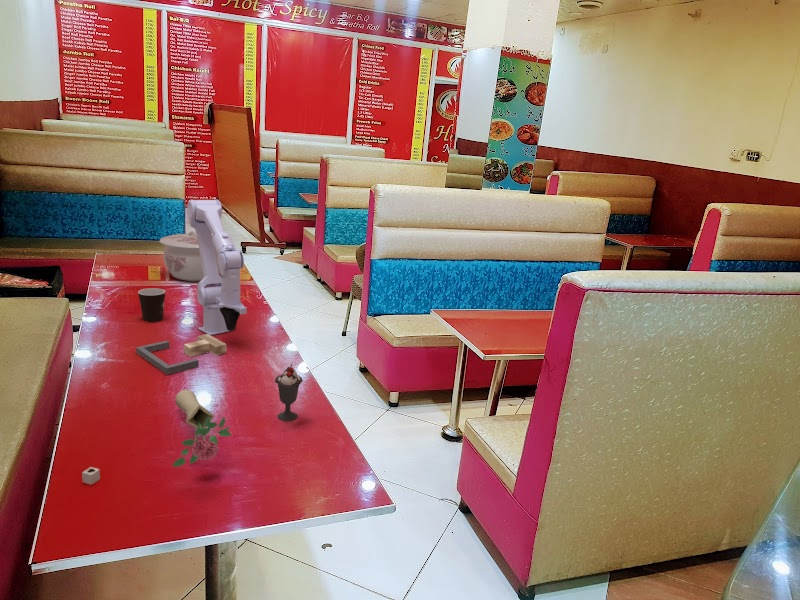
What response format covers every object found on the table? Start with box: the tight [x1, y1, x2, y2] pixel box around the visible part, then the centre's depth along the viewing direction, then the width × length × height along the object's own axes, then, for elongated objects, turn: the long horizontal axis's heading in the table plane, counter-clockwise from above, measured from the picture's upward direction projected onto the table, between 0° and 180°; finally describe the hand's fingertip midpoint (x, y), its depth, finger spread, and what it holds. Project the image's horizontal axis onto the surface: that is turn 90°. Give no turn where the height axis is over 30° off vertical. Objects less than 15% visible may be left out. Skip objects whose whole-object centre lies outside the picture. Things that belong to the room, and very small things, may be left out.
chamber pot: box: [159, 231, 219, 282], centre depth 249 cm, size 28×28×21 cm
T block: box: [183, 333, 227, 358], centre depth 175 cm, size 10×11×3 cm
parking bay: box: [135, 340, 200, 376], centre depth 167 cm, size 10×19×2 cm, turn 48°
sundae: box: [274, 363, 304, 422], centre depth 139 cm, size 7×7×15 cm
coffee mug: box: [137, 287, 166, 323], centre depth 198 cm, size 12×9×10 cm
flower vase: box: [172, 389, 232, 468], centre depth 125 cm, size 12×12×35 cm
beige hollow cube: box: [81, 466, 101, 486], centre depth 111 cm, size 2×2×2 cm
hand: (231, 329), depth 181 cm, fingers closed
